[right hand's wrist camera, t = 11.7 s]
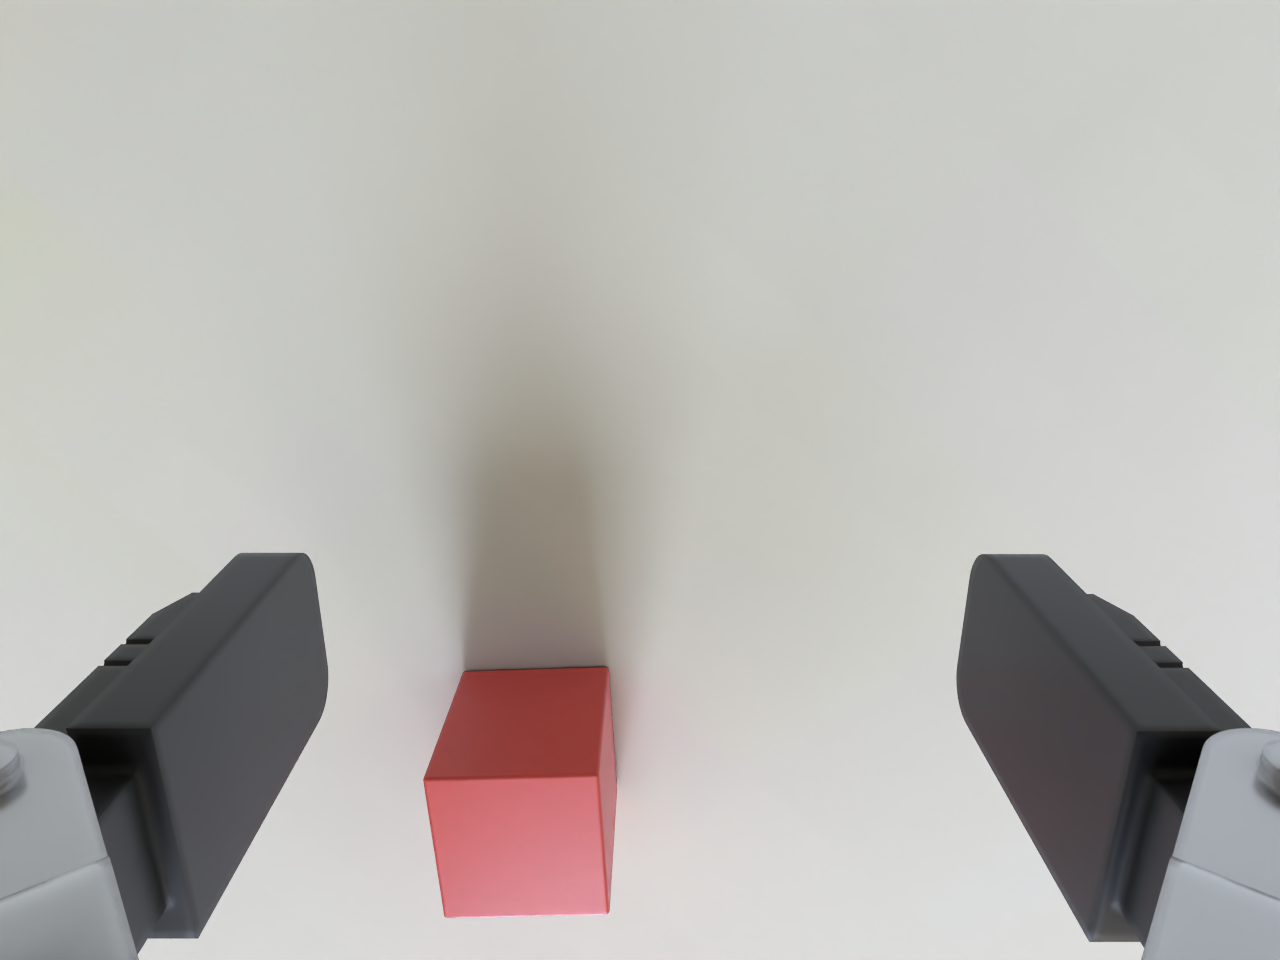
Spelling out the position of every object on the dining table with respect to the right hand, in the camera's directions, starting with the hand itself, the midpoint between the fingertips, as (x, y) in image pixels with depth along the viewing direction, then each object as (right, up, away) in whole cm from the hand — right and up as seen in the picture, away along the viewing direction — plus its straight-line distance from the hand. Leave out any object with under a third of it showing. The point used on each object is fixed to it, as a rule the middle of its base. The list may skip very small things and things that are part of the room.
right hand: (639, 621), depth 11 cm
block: (-3, -5, +15) cm, 16 cm away
